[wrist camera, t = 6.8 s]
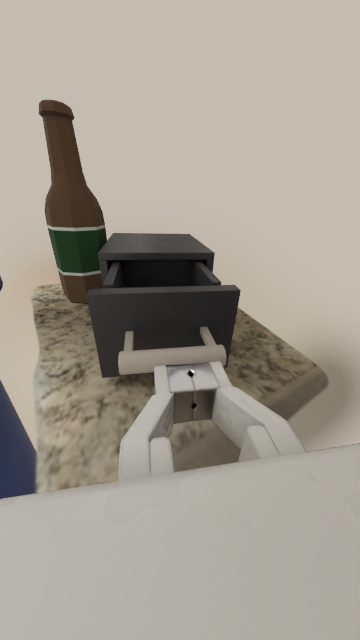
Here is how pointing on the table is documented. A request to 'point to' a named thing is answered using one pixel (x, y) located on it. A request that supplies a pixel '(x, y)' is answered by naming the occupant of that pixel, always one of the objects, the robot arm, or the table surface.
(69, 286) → the beer bottle
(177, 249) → the cabinet
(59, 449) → the table surface
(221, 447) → the table surface
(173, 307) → the drawer
